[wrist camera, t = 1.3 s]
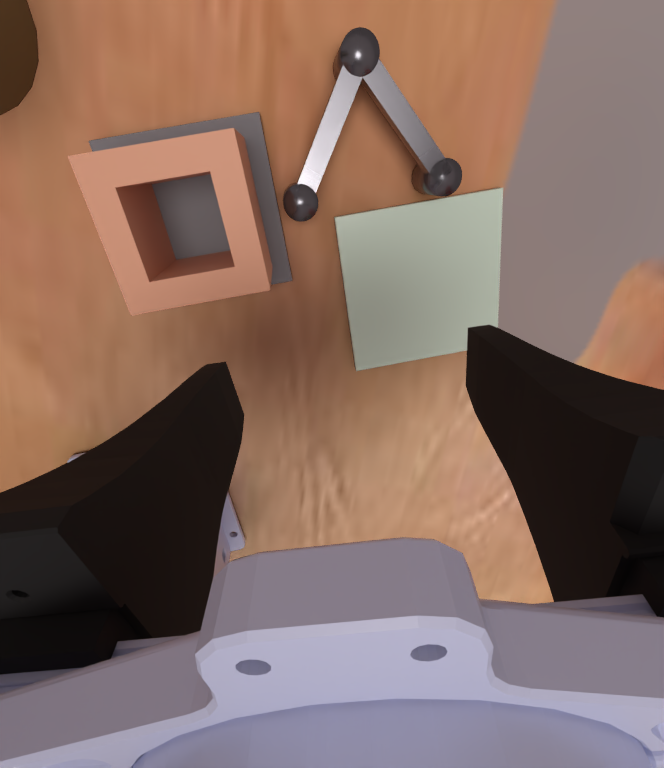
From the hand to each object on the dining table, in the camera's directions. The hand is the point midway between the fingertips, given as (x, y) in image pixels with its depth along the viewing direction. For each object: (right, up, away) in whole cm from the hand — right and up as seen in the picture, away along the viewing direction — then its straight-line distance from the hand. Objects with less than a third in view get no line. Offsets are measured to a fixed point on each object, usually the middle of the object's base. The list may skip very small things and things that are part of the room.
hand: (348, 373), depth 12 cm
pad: (+4, +5, +9) cm, 11 cm away
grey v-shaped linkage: (0, +10, +6) cm, 12 cm away
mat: (-6, +7, +6) cm, 12 cm away
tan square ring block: (-6, +7, +6) cm, 11 cm away
